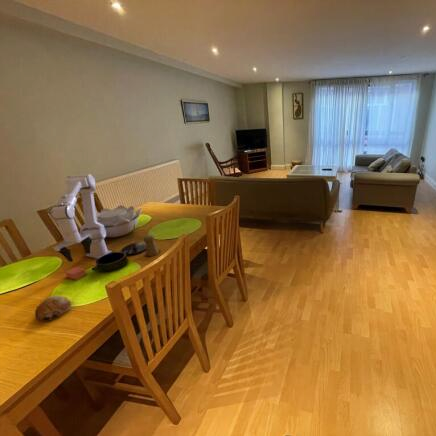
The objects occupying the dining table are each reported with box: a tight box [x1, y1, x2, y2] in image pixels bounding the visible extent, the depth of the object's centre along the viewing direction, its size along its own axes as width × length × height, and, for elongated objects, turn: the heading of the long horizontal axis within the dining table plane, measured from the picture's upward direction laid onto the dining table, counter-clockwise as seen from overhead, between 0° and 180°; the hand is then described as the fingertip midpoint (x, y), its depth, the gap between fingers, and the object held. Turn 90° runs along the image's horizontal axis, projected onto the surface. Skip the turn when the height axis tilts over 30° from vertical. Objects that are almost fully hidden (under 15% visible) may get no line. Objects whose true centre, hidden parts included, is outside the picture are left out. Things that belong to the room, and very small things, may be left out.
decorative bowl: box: [90, 204, 142, 238], centre depth 154 cm, size 30×30×15 cm
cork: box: [143, 234, 160, 257], centre depth 132 cm, size 6×6×11 cm
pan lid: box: [120, 240, 146, 256], centre depth 137 cm, size 14×14×5 cm
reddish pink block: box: [65, 266, 87, 281], centre depth 114 cm, size 6×4×3 cm
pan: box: [91, 251, 129, 273], centre depth 122 cm, size 12×18×4 cm
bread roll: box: [34, 295, 72, 322], centre depth 92 cm, size 10×10×8 cm
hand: (79, 257), depth 114 cm, fingers open, 7 cm apart
